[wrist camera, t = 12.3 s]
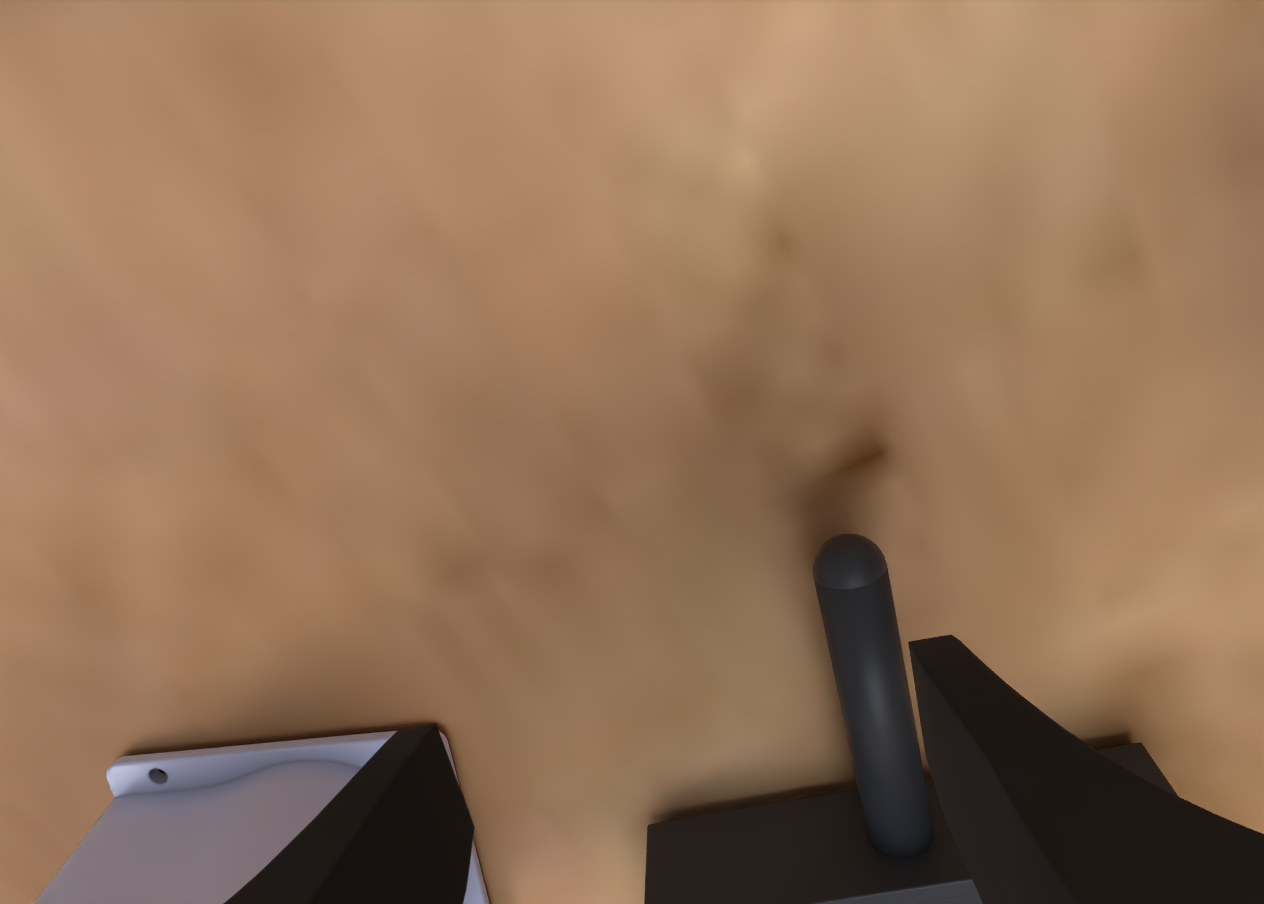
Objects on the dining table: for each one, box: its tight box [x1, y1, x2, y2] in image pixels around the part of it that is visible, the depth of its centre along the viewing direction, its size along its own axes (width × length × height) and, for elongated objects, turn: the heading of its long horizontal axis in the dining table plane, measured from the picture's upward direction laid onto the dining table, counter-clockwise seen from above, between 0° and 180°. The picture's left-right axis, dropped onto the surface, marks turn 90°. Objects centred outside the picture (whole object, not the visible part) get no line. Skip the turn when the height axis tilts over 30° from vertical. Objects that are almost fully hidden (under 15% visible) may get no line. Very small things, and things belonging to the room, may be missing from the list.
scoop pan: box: [645, 534, 1178, 904], centre depth 25 cm, size 19×13×4 cm
